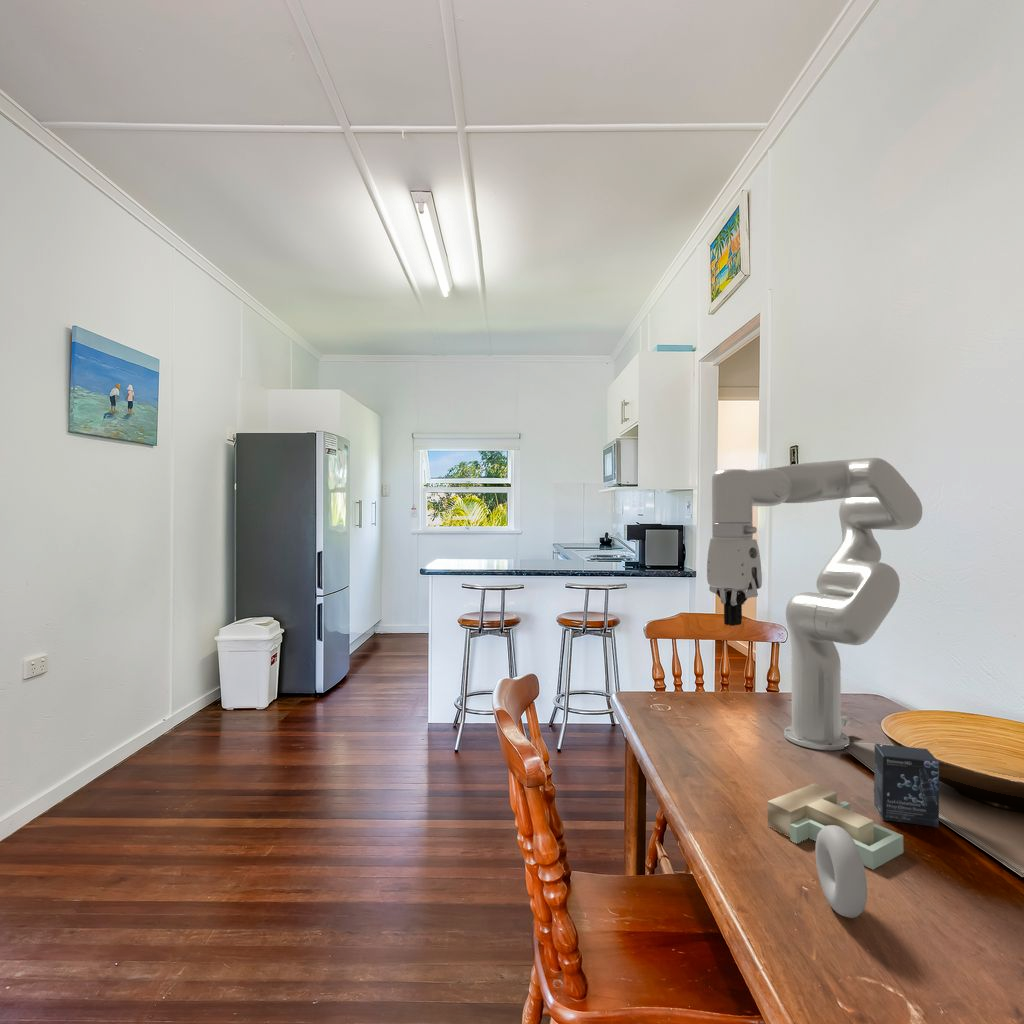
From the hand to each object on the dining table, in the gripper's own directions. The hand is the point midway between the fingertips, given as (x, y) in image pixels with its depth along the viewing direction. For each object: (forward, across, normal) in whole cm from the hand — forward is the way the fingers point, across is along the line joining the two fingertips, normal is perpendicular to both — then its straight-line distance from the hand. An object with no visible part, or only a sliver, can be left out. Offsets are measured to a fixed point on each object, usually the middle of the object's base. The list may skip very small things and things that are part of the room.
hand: (732, 624), depth 121 cm
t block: (+27, -26, +10) cm, 39 cm away
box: (+27, -29, -5) cm, 40 cm away
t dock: (+27, -29, +10) cm, 41 cm away
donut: (+27, -37, +26) cm, 53 cm away
